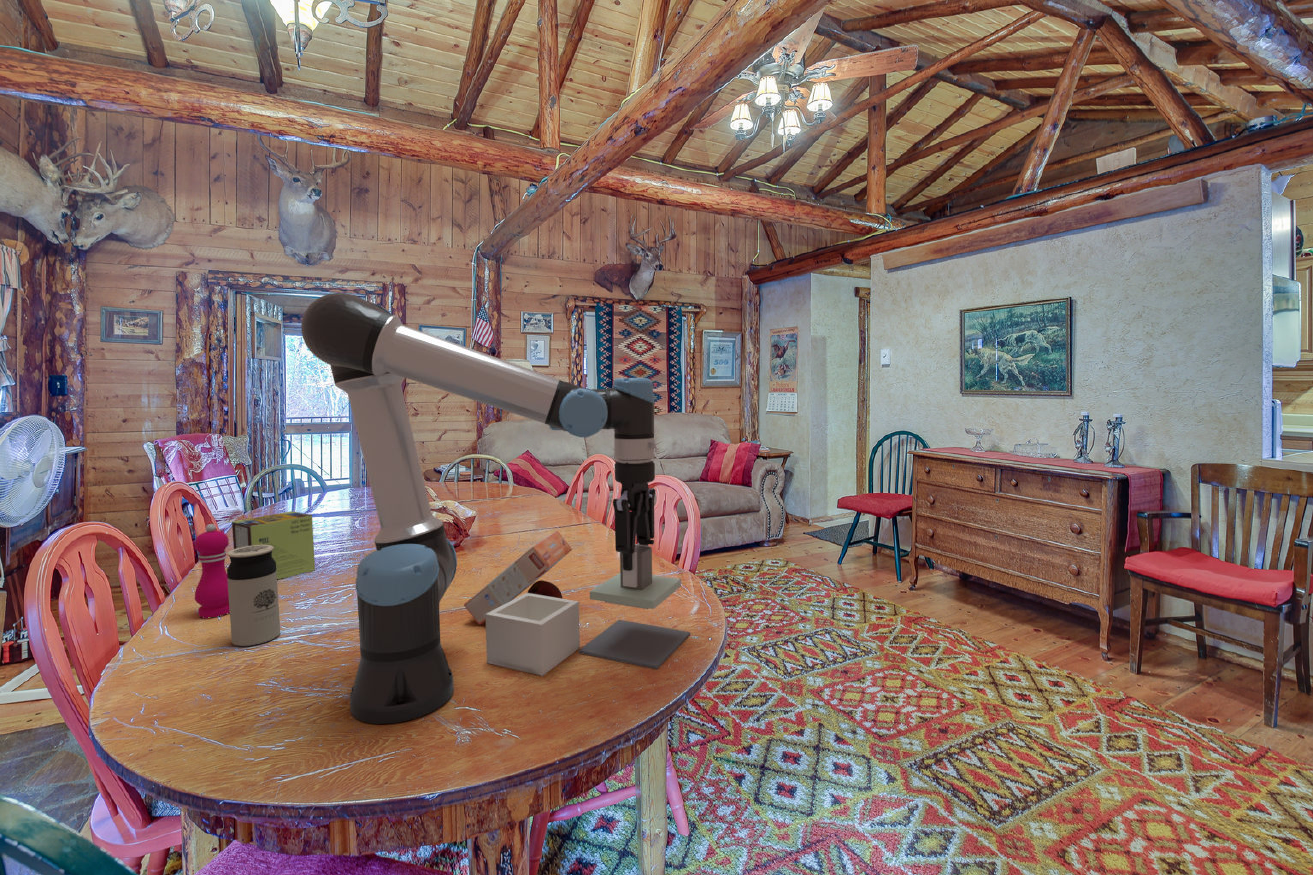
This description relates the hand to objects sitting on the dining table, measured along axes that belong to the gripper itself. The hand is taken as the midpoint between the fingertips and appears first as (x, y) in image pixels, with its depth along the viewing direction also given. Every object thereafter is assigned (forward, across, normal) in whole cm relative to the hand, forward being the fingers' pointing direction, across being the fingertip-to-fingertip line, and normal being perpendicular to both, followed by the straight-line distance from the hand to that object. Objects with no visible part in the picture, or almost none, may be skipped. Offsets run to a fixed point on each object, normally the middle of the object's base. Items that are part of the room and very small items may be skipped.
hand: (636, 581), depth 113 cm
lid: (+3, 0, 0) cm, 3 cm away
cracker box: (+10, +1, +37) cm, 38 cm away
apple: (+12, +4, +24) cm, 27 cm away
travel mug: (+12, -28, +70) cm, 76 cm away
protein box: (+12, 0, +107) cm, 108 cm away
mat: (+12, 0, 0) cm, 12 cm away
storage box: (+12, -12, +15) cm, 23 cm away
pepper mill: (+12, -23, +92) cm, 96 cm away
